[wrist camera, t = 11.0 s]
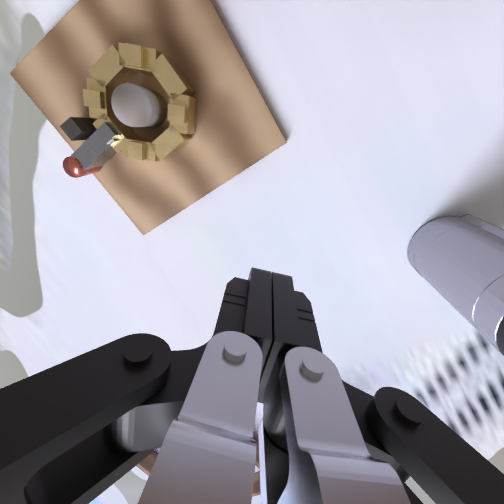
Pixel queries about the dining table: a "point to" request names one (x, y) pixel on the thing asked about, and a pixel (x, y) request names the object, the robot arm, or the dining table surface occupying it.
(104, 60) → the gold ring with lever
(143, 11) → the jig board
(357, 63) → the dining table surface
